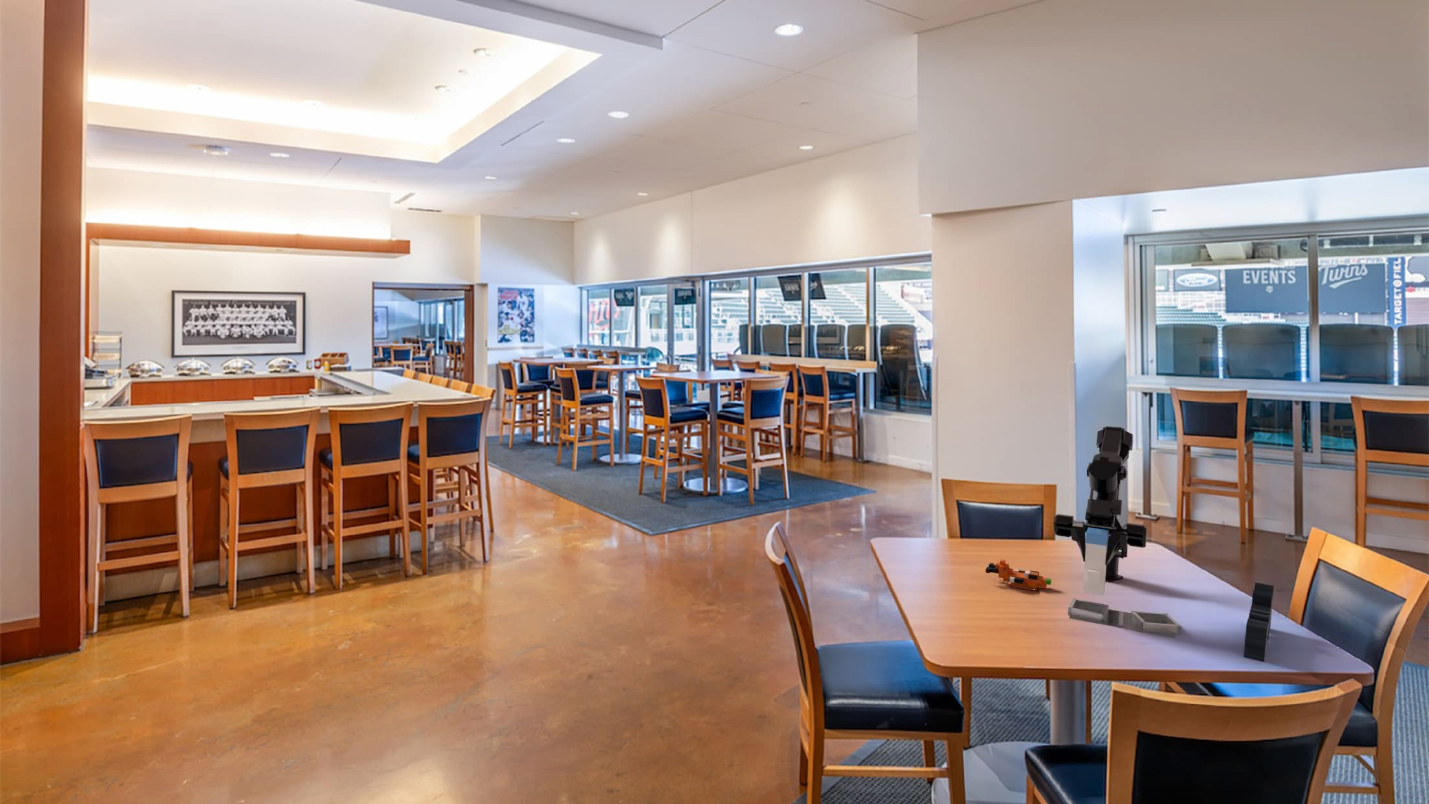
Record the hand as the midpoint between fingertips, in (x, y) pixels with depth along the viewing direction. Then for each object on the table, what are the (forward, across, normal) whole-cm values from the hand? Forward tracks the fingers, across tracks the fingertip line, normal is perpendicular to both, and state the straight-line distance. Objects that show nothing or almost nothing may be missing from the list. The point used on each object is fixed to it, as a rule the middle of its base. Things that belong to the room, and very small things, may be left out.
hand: (1095, 562), depth 163 cm
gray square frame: (+8, +12, +10) cm, 18 cm away
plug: (+4, 0, +6) cm, 7 cm away
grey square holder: (+8, -1, +10) cm, 13 cm away
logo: (+6, +30, +13) cm, 34 cm away
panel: (+8, +6, +10) cm, 14 cm away
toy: (0, -18, +19) cm, 26 cm away
